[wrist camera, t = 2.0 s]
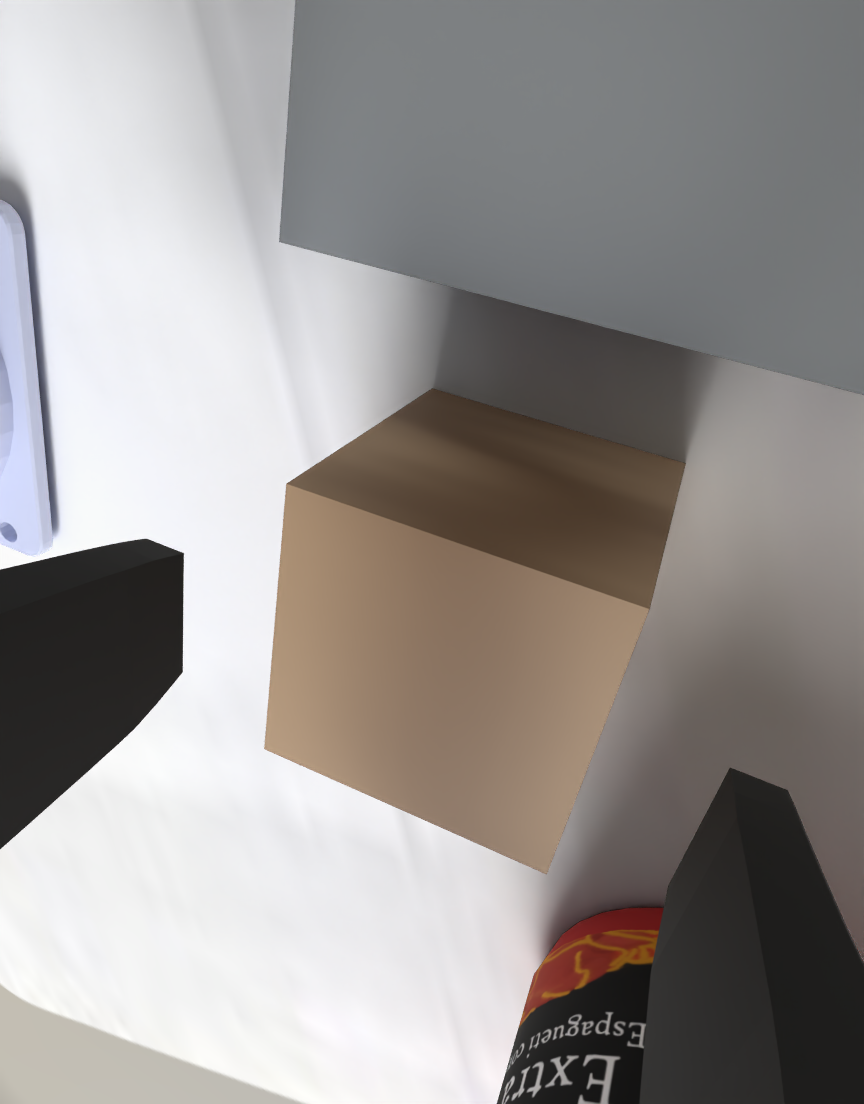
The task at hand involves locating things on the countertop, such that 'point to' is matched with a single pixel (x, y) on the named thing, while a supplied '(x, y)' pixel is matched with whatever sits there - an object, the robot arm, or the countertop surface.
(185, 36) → the countertop surface
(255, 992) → the countertop surface
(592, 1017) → the canned food
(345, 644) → the light brown rectangular block
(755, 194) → the slate base
